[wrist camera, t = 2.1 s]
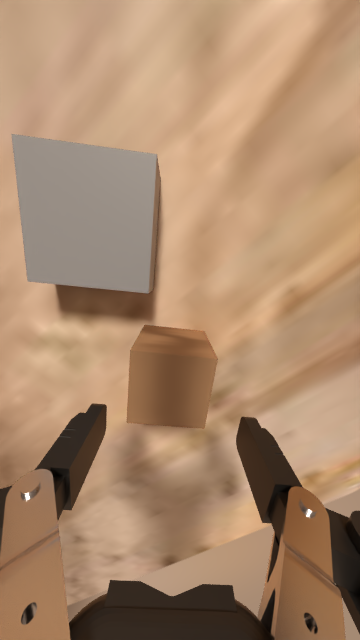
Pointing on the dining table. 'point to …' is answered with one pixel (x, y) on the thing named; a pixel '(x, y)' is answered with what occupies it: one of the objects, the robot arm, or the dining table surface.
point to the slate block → (87, 213)
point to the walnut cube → (170, 377)
